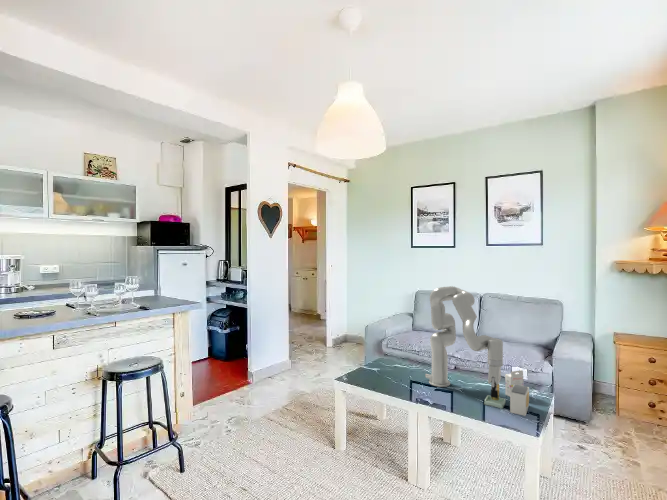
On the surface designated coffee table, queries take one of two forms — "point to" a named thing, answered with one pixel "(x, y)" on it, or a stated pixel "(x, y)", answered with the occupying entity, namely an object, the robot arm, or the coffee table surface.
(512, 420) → the coffee table surface
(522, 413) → the white box grey panel
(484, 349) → the robot arm
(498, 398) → the roller
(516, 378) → the ink cartridge box
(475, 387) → the coffee table surface
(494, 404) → the tray
